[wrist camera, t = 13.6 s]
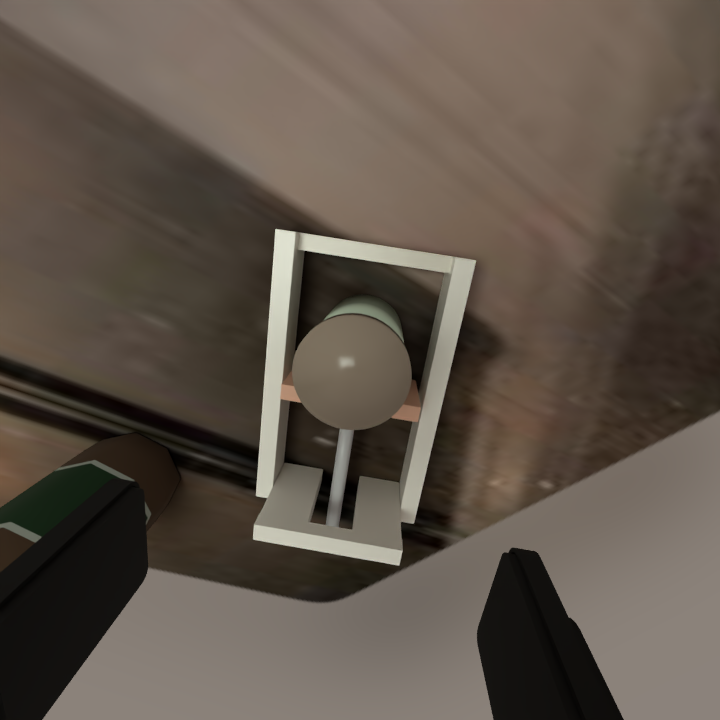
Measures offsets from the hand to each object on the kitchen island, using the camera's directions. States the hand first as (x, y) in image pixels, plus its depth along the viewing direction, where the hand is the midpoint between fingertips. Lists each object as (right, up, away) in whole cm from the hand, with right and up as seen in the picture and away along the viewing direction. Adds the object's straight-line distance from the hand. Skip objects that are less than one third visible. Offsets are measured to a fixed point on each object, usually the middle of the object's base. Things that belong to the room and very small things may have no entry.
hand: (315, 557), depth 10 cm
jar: (+1, +7, +17) cm, 18 cm away
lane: (+1, +4, +18) cm, 18 cm away
